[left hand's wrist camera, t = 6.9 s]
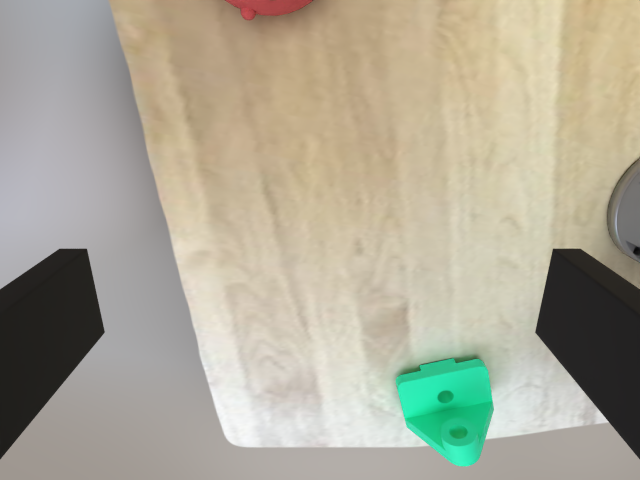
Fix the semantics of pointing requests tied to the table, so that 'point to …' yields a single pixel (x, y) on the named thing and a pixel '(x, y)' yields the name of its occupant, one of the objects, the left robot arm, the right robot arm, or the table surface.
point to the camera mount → (449, 407)
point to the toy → (267, 7)
